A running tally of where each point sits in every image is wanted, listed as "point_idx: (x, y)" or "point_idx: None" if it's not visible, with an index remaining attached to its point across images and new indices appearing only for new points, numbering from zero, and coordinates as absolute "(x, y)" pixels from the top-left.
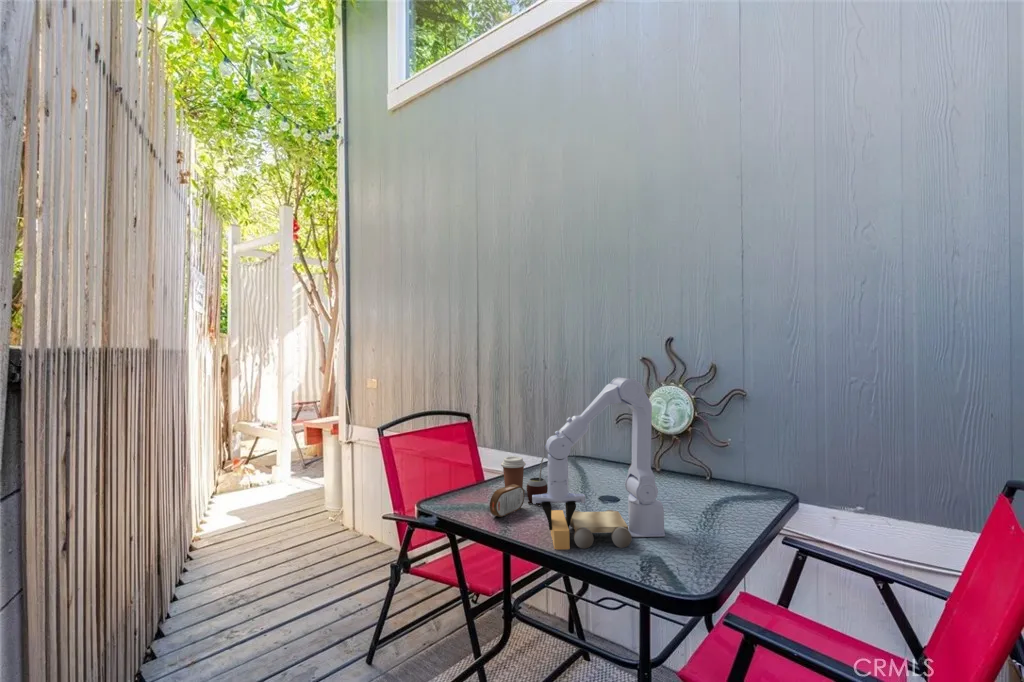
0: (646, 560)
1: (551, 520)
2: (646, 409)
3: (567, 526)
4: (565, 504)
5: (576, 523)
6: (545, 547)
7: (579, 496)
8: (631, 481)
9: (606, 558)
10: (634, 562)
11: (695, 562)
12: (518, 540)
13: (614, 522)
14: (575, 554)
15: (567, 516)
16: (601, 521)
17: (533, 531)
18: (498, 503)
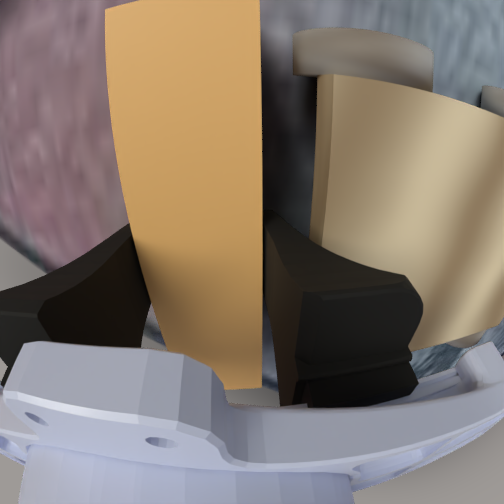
0: (440, 350)
1: (141, 265)
2: None
3: (258, 354)
4: (293, 282)
5: None
6: (150, 308)
7: (437, 457)
8: None
9: None
10: (411, 363)
11: (498, 337)
12: (30, 244)
13: (494, 295)
14: (270, 351)
15: (274, 342)
16: (463, 290)
17: (60, 123)
18: None
